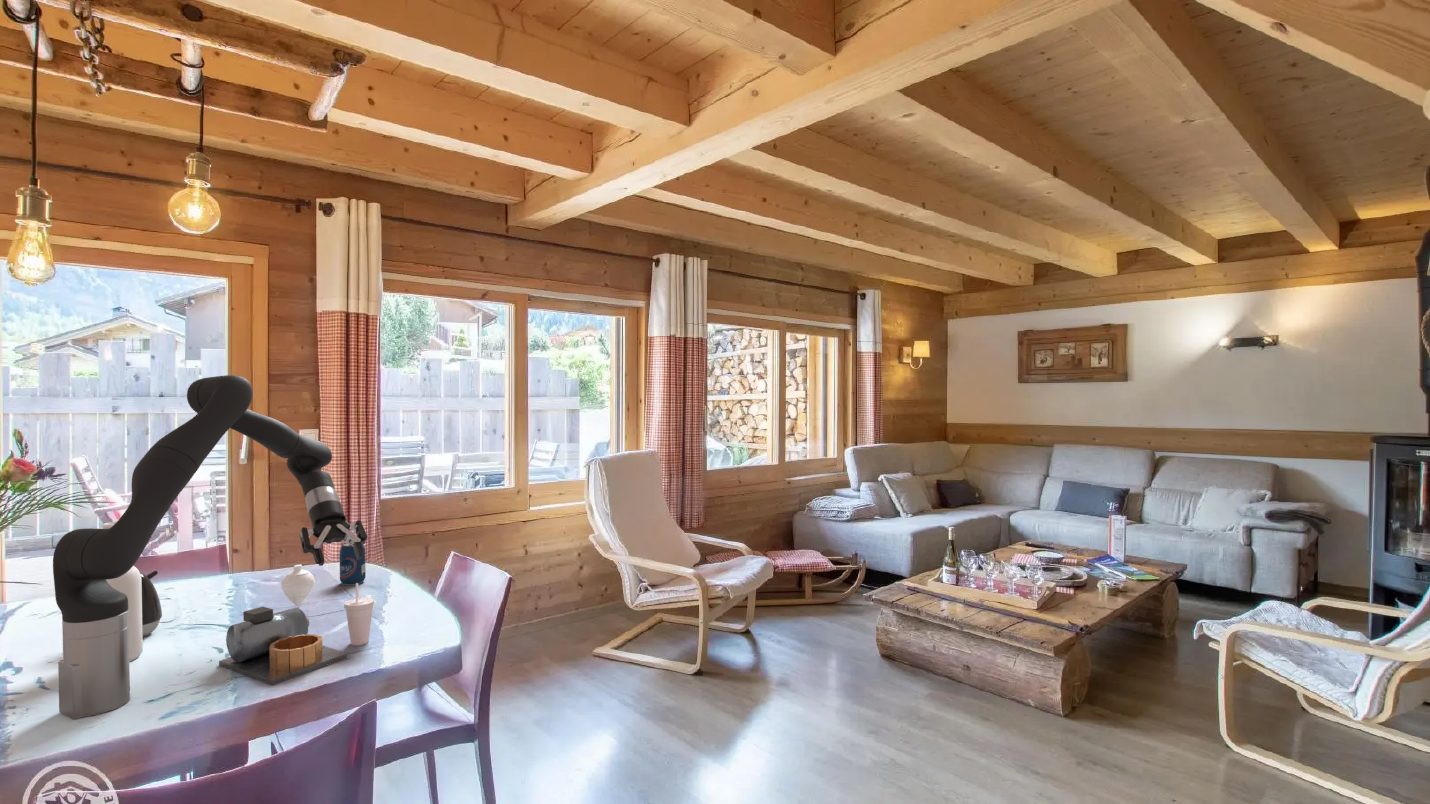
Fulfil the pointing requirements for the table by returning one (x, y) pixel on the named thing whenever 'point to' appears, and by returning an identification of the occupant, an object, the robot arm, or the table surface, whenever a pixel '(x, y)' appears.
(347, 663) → the table surface
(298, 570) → the spinning top
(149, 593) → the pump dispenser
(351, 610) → the smoothie
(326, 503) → the robot arm
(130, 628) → the alcohol
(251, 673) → the motor
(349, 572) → the soda can
